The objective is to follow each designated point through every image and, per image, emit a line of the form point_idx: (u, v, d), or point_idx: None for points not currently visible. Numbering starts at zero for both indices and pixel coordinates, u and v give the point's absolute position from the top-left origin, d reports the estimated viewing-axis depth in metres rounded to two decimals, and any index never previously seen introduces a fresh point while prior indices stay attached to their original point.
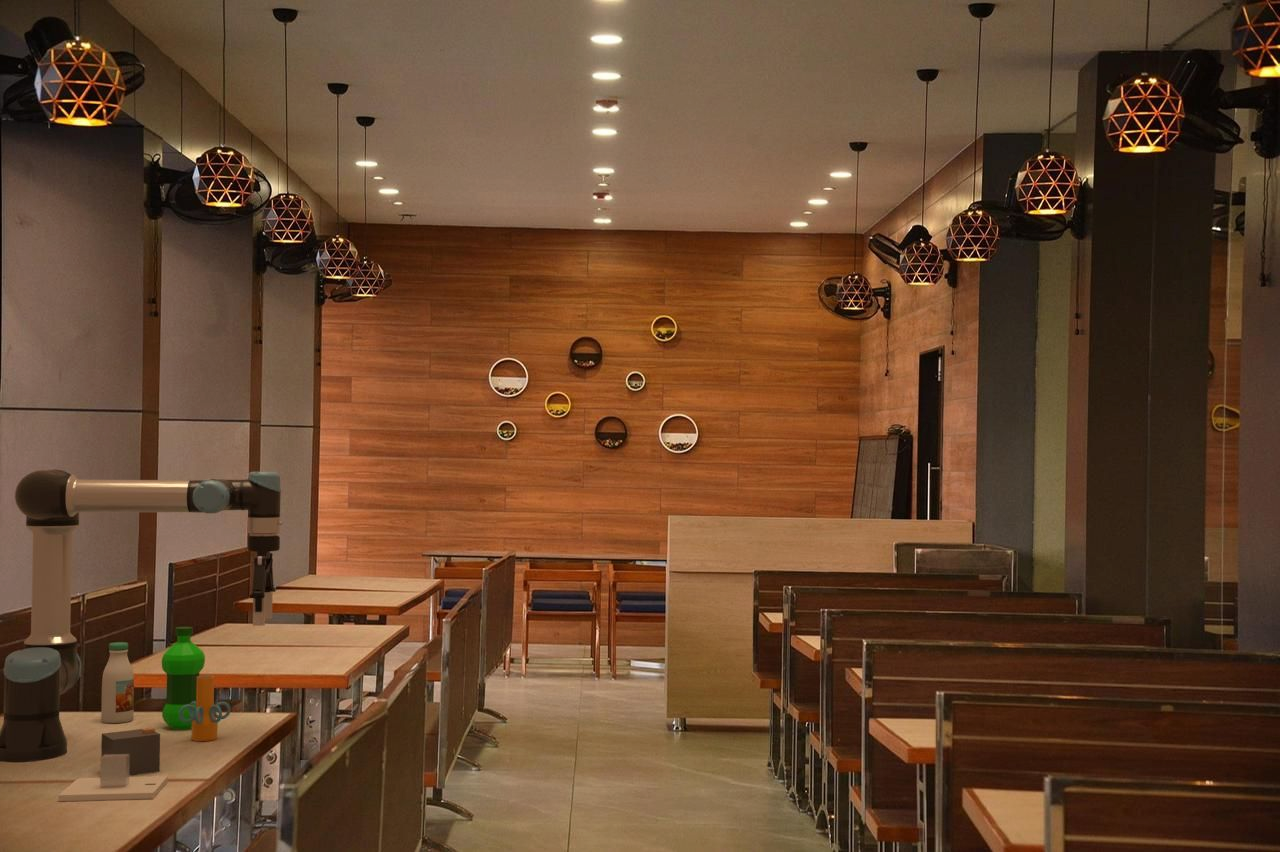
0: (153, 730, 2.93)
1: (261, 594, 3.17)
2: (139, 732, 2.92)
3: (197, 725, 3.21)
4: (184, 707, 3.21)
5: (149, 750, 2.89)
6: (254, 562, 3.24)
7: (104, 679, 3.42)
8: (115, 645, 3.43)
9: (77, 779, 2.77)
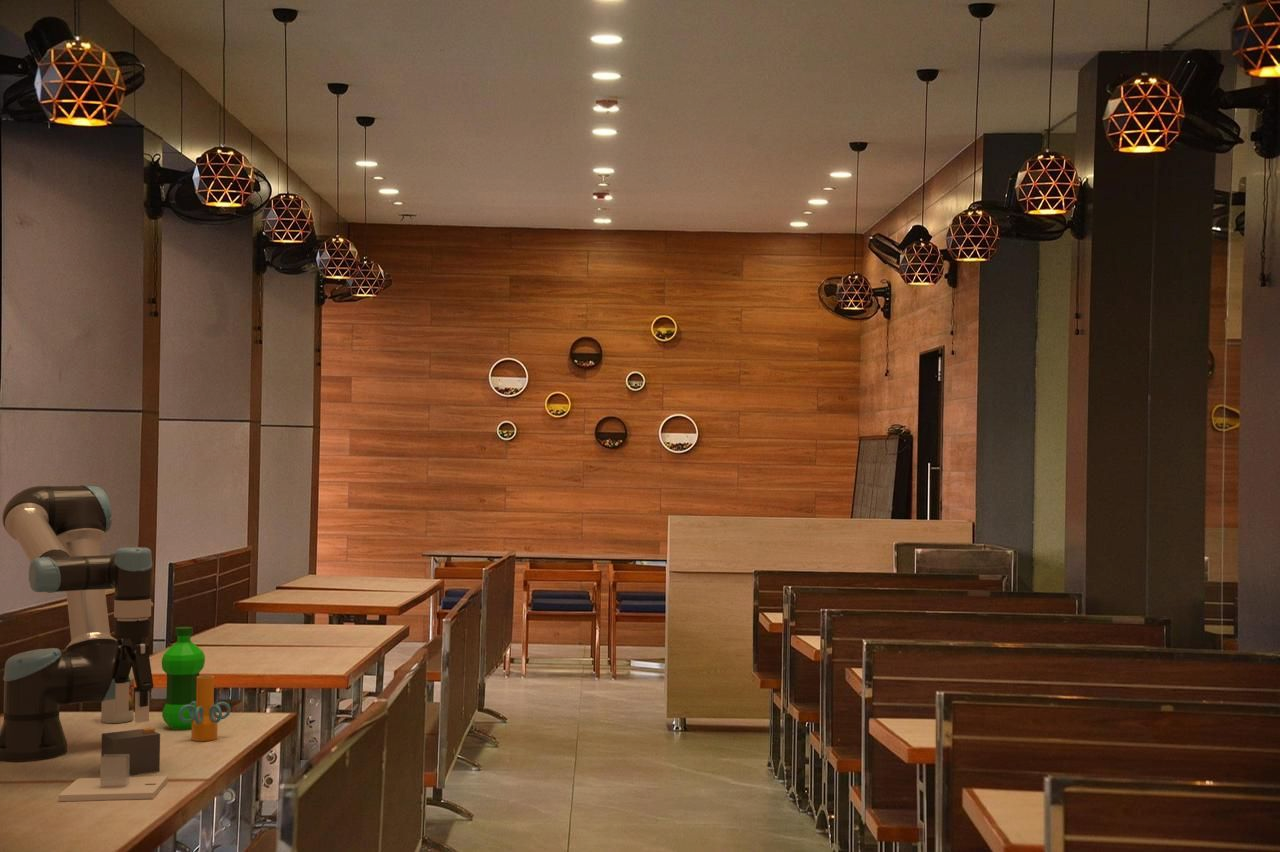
0: (153, 730, 2.93)
1: (152, 686, 2.83)
2: (139, 732, 2.92)
3: (197, 725, 3.21)
4: (184, 707, 3.21)
5: (149, 750, 2.89)
6: (127, 651, 2.88)
7: None
8: None
9: (77, 779, 2.77)
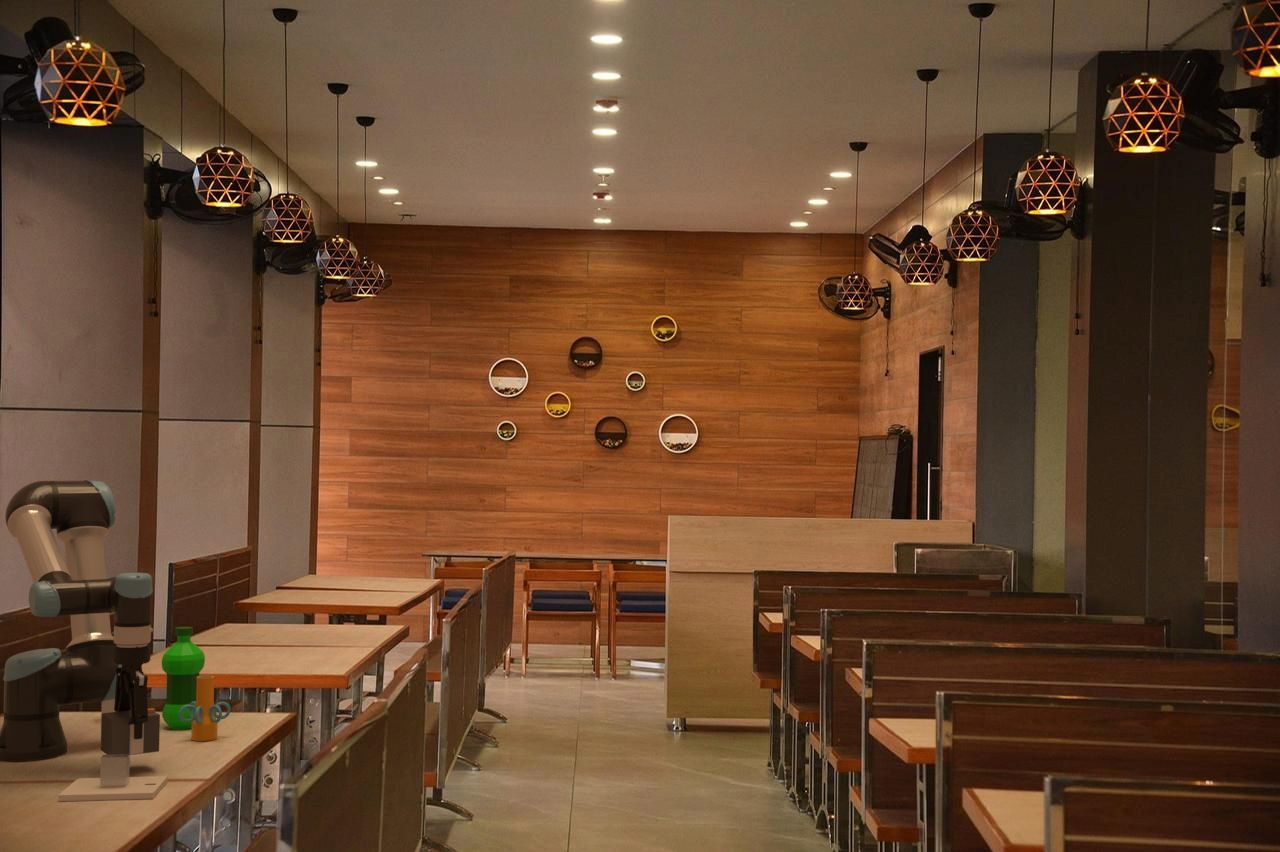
0: (153, 710, 2.93)
1: (146, 720, 2.86)
2: None
3: (197, 725, 3.21)
4: (184, 707, 3.21)
5: (149, 730, 2.90)
6: (126, 678, 2.88)
7: None
8: None
9: (77, 779, 2.77)
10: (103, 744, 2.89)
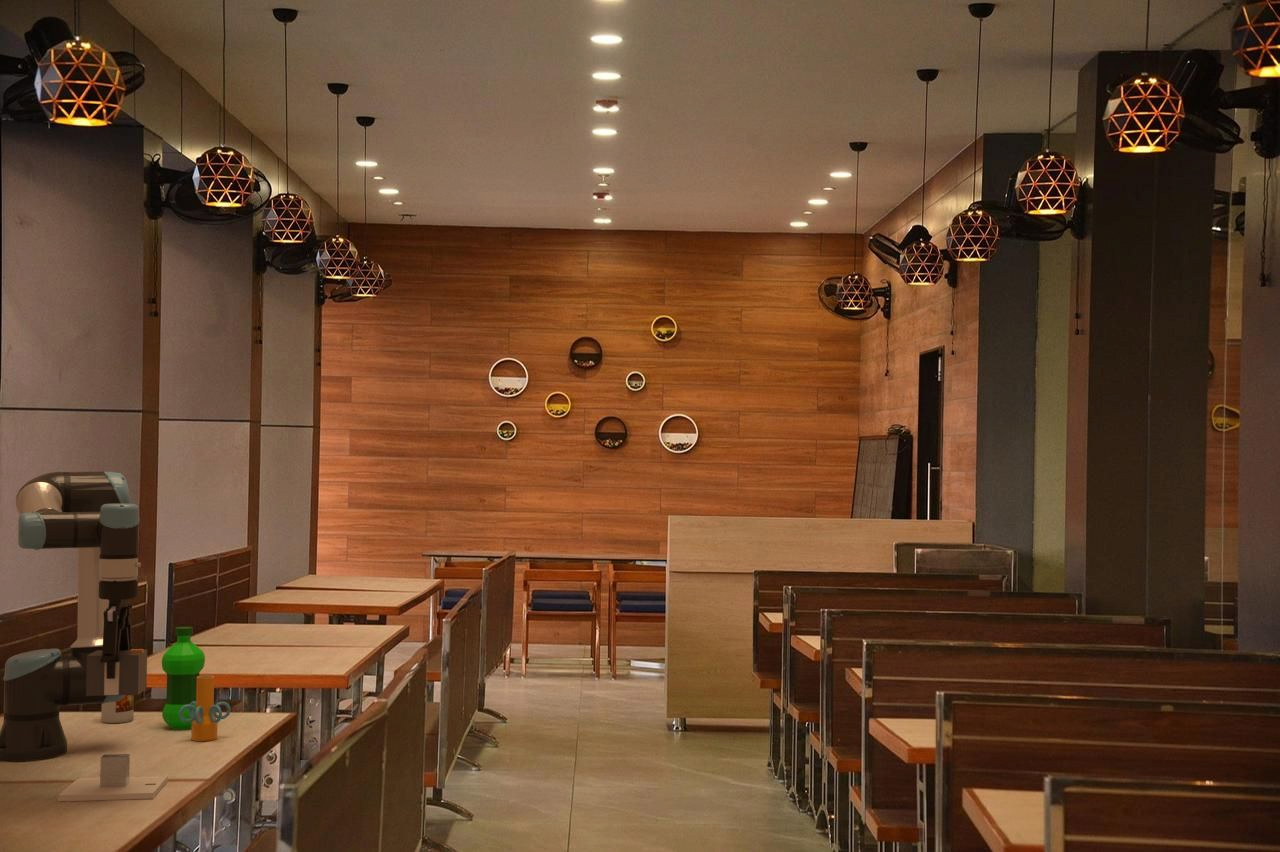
0: (140, 651, 2.74)
1: (113, 659, 2.66)
2: (127, 652, 2.74)
3: (197, 725, 3.21)
4: (184, 707, 3.21)
5: (126, 671, 2.70)
6: None
7: None
8: None
9: (77, 779, 2.77)
10: None
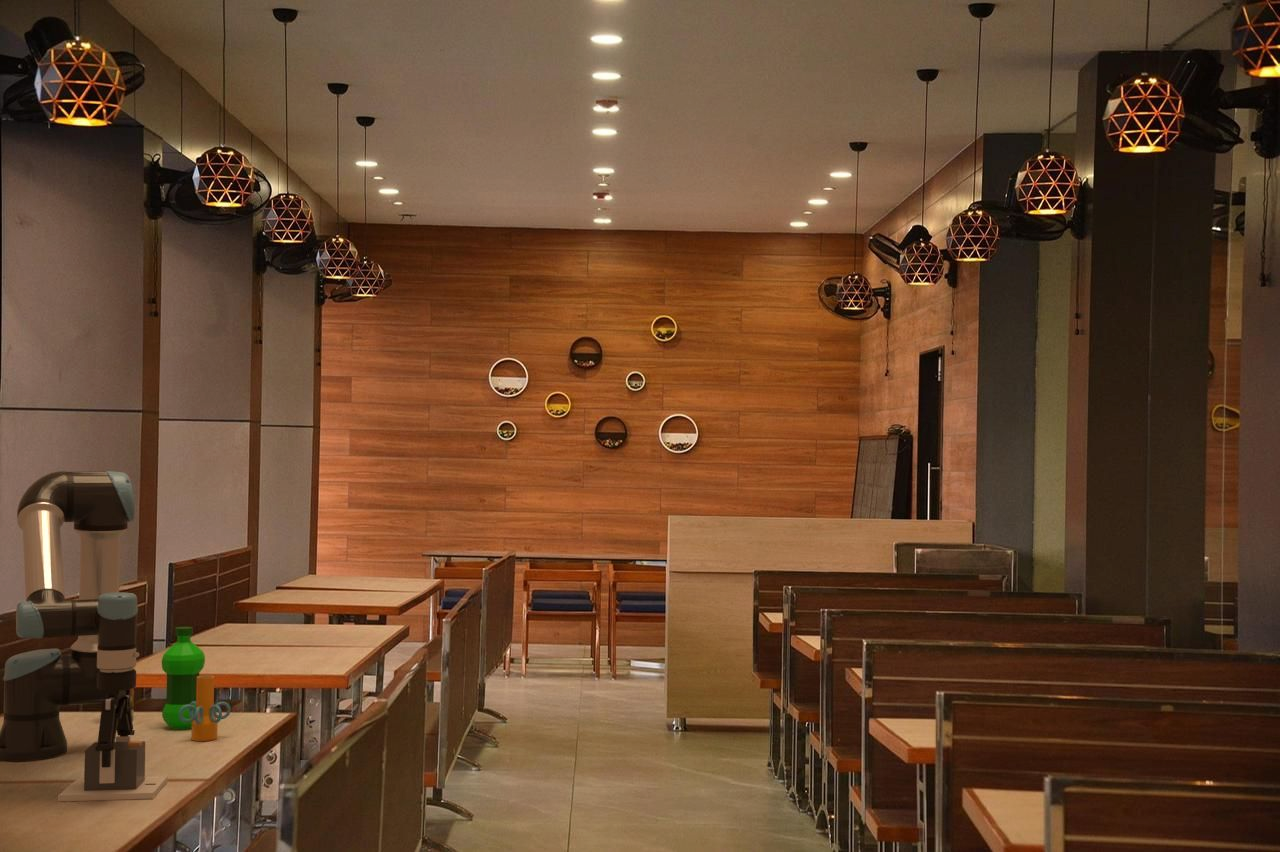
0: (138, 744, 2.73)
1: (108, 747, 2.63)
2: (125, 745, 2.74)
3: (197, 725, 3.21)
4: (184, 707, 3.21)
5: (124, 765, 2.69)
6: None
7: None
8: None
9: (77, 779, 2.77)
10: None
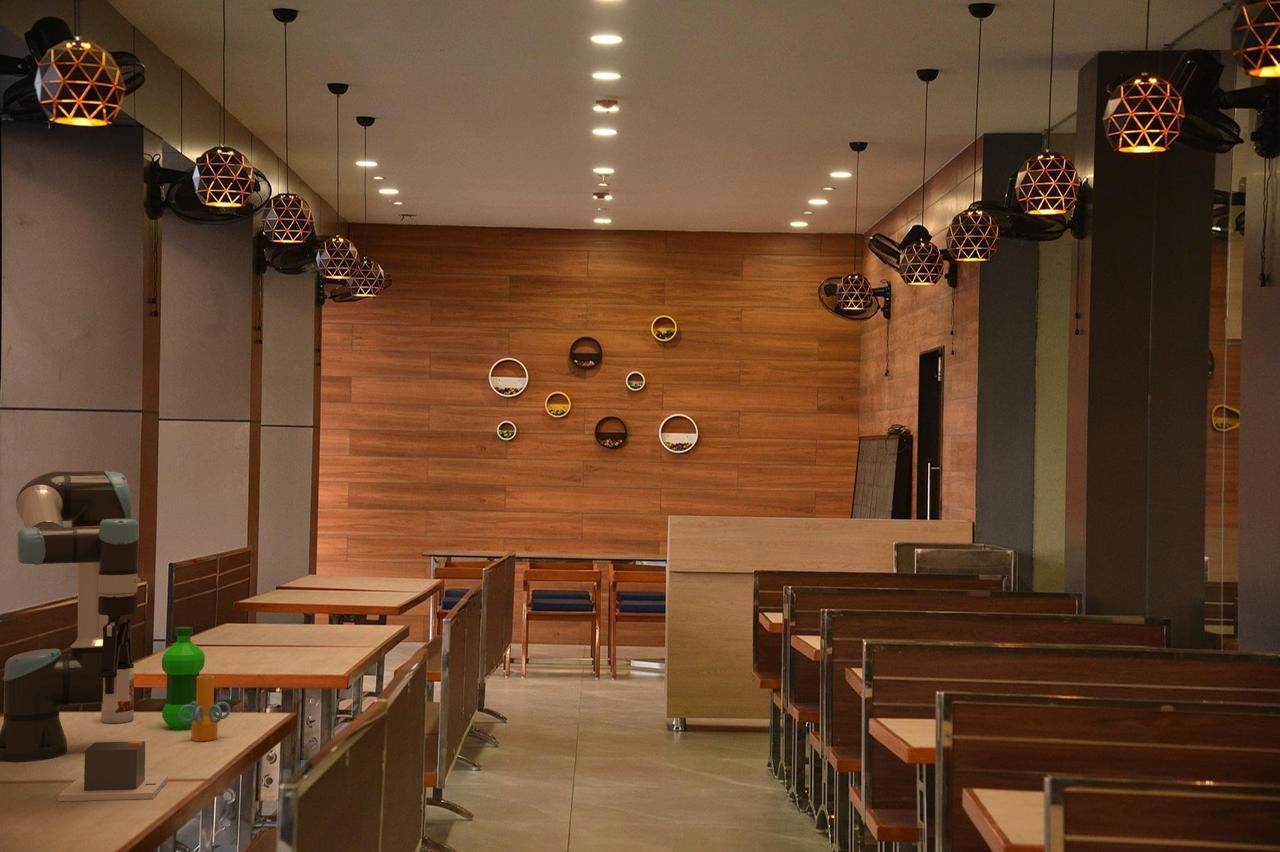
0: (138, 744, 2.73)
1: (111, 674, 2.65)
2: (125, 745, 2.74)
3: (197, 725, 3.21)
4: (184, 707, 3.21)
5: (124, 765, 2.69)
6: None
7: None
8: None
9: (77, 779, 2.77)
10: None
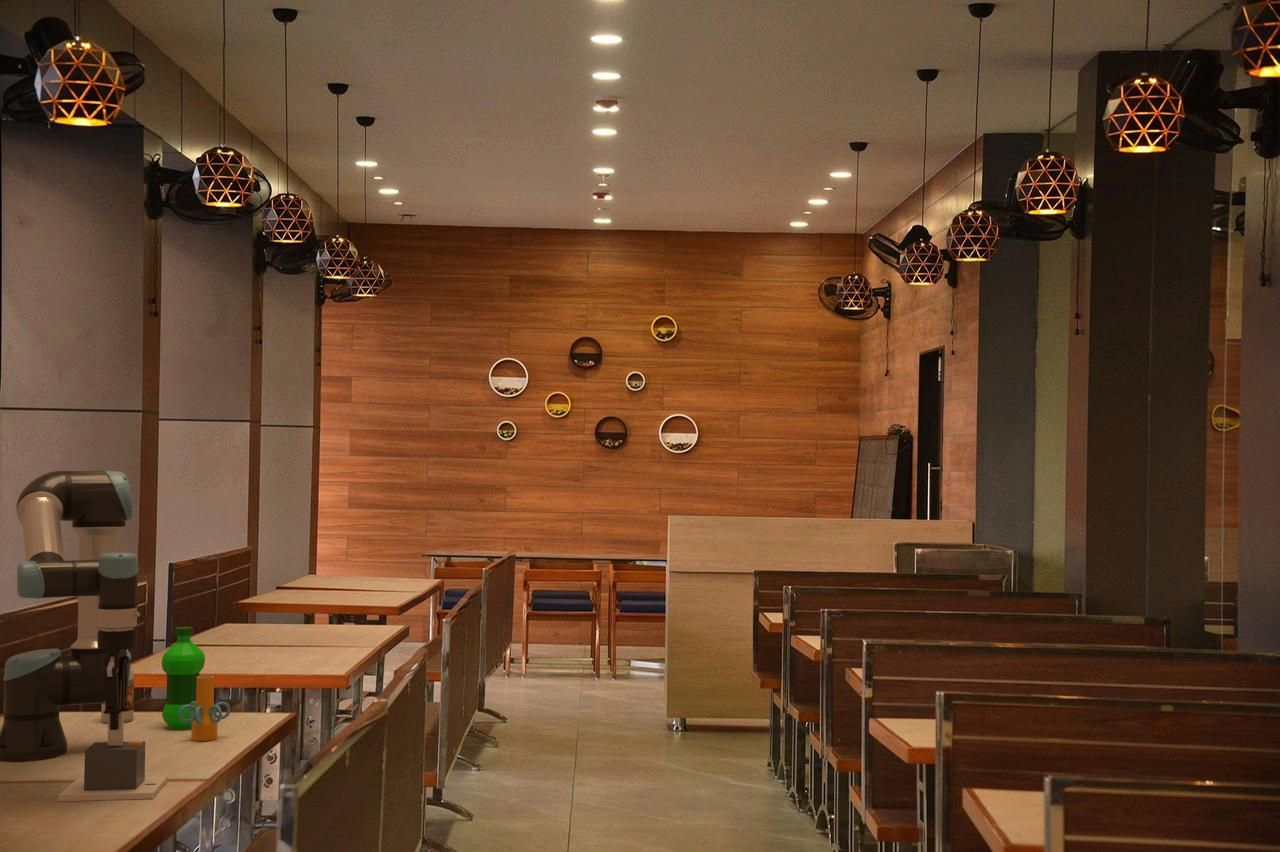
0: (138, 744, 2.73)
1: (116, 711, 2.70)
2: (125, 745, 2.74)
3: (197, 725, 3.21)
4: (184, 707, 3.21)
5: (124, 766, 2.69)
6: (105, 665, 2.71)
7: None
8: None
9: (77, 779, 2.77)
10: None
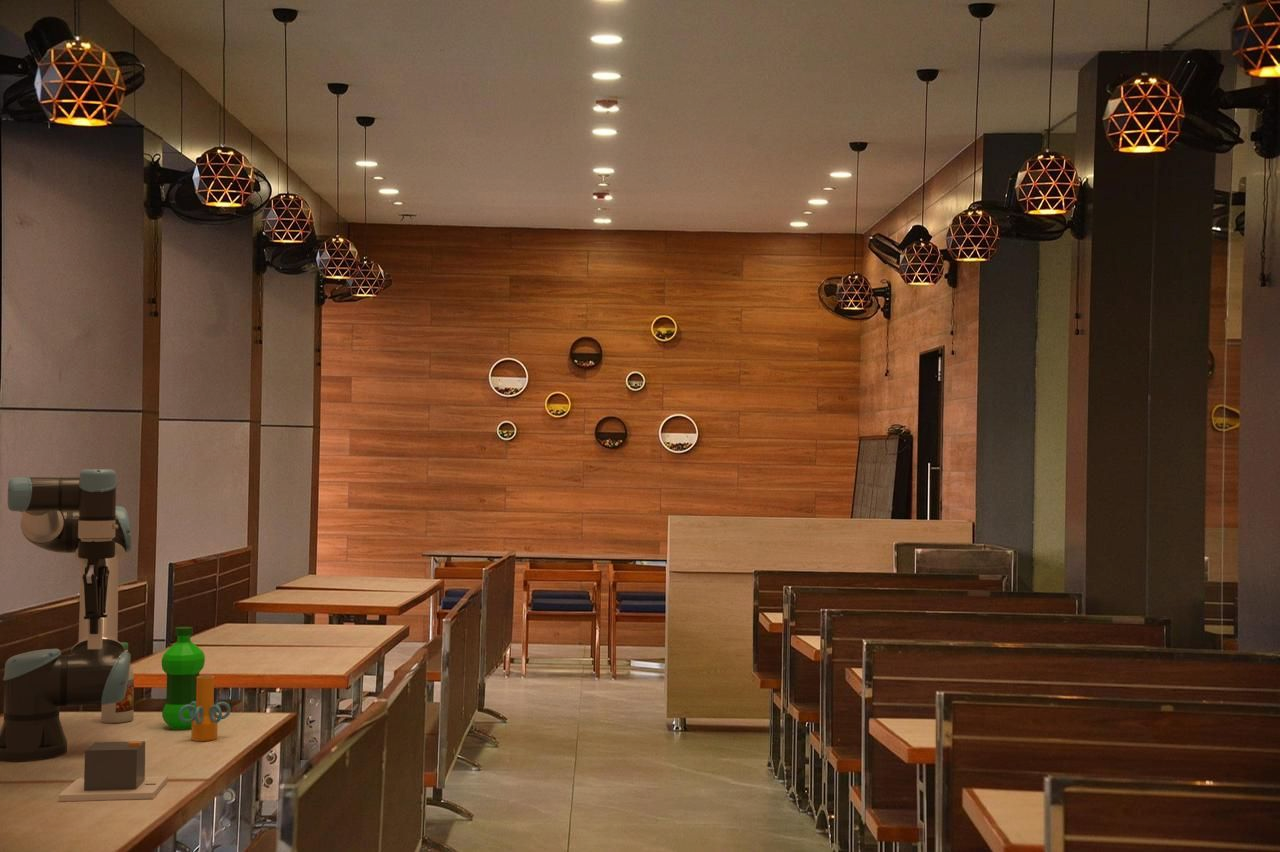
0: (138, 744, 2.73)
1: (96, 616, 2.88)
2: (125, 745, 2.74)
3: (197, 725, 3.21)
4: (184, 707, 3.21)
5: (124, 765, 2.69)
6: (85, 573, 2.89)
7: None
8: None
9: (77, 779, 2.77)
10: None
